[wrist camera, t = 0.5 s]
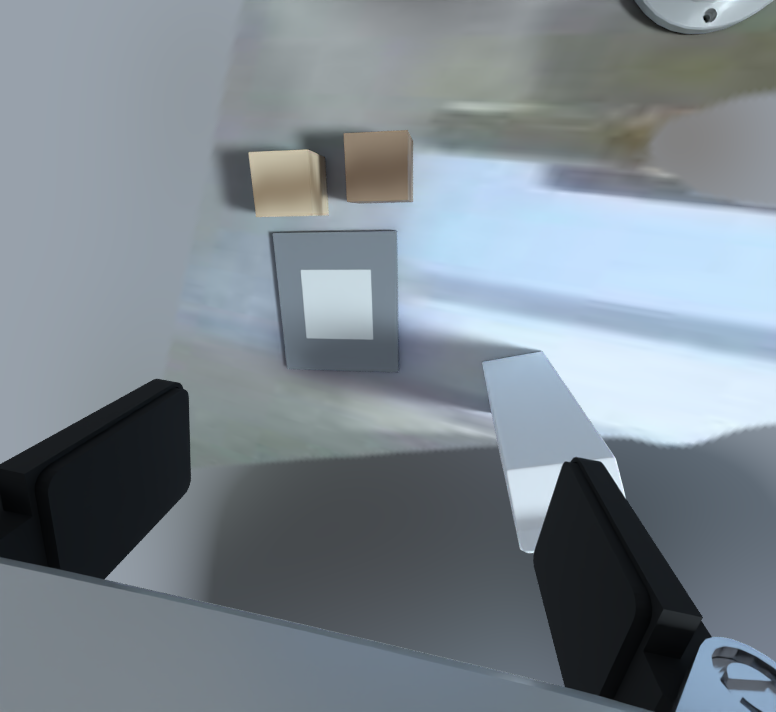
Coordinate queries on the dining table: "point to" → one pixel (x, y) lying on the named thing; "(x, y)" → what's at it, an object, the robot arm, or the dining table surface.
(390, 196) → the walnut block
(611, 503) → the robot arm
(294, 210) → the oak block
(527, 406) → the milk
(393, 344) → the mat
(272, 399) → the dining table surface
